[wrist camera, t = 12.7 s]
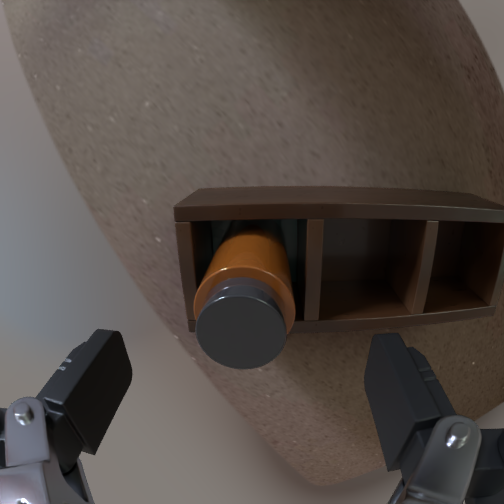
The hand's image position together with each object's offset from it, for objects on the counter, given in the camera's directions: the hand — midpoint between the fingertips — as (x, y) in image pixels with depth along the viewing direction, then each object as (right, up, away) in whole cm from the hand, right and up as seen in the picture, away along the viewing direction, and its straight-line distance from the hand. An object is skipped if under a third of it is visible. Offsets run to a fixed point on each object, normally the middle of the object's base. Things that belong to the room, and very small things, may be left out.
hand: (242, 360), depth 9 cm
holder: (+7, +4, +11) cm, 14 cm away
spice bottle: (0, +4, +11) cm, 11 cm away
